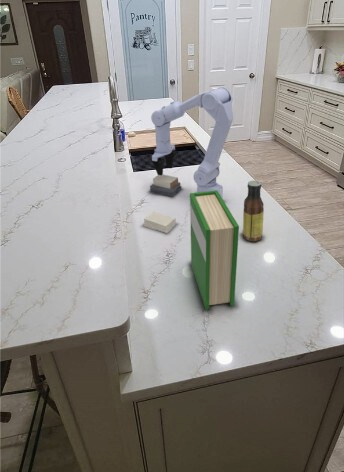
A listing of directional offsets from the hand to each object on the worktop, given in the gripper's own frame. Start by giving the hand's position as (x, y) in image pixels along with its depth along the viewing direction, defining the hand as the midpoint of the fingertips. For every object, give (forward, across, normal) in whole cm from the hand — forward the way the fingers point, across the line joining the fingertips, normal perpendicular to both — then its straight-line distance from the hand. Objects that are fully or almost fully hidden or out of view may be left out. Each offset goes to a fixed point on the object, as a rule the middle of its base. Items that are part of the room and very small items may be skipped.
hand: (164, 171), depth 136 cm
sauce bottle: (+9, +16, +43) cm, 47 cm away
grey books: (+9, 0, 0) cm, 9 cm away
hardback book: (+9, +42, +40) cm, 59 cm away
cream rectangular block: (+9, +24, +12) cm, 28 cm away
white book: (+6, 0, 0) cm, 6 cm away
